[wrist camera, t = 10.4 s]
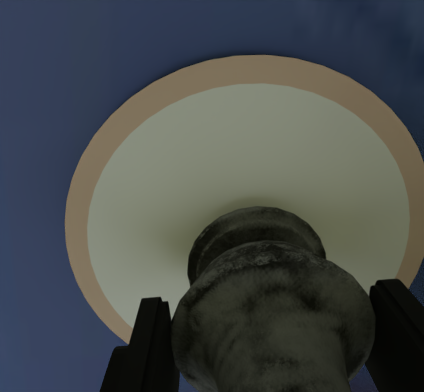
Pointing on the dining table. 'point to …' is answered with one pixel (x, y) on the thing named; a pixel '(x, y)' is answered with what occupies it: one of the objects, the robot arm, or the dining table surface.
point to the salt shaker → (269, 309)
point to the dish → (241, 177)
